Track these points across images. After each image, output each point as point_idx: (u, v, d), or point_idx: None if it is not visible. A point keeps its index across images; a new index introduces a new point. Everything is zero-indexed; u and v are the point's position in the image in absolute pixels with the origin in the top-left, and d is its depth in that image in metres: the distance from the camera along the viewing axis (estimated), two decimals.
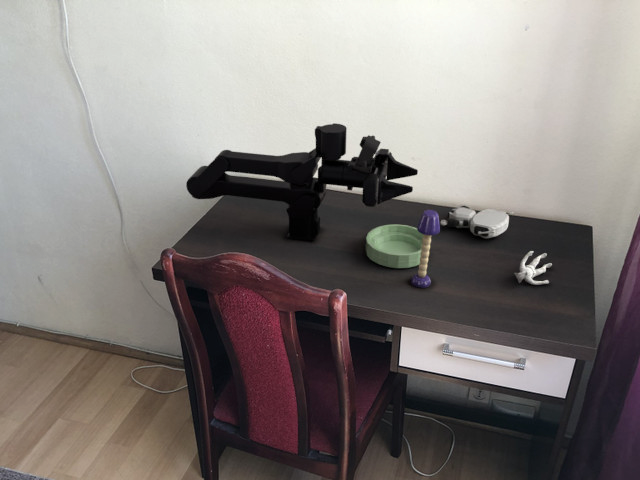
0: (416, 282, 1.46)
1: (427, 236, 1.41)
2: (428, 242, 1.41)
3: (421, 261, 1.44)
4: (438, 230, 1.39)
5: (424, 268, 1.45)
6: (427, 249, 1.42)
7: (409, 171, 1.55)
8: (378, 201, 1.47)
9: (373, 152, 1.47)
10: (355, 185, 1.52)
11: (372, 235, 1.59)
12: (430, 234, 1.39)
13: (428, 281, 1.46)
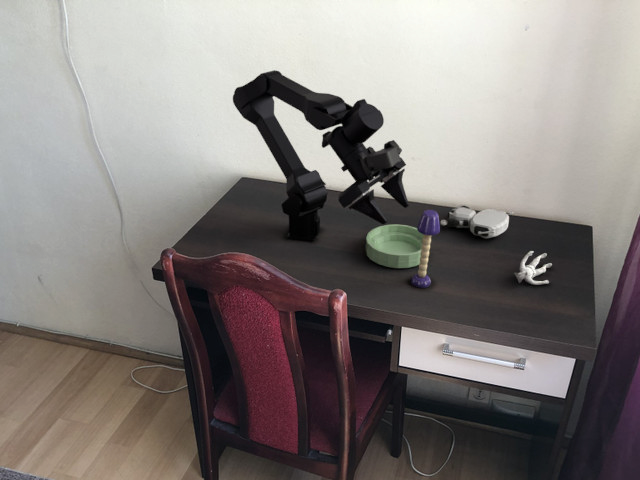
0: (416, 282, 1.46)
1: (427, 236, 1.41)
2: (428, 242, 1.41)
3: (421, 261, 1.44)
4: (438, 230, 1.39)
5: (424, 268, 1.45)
6: (427, 249, 1.42)
7: (402, 200, 1.46)
8: (350, 207, 1.39)
9: (385, 166, 1.37)
10: (349, 171, 1.42)
11: (372, 235, 1.59)
12: (430, 234, 1.39)
13: (428, 281, 1.46)
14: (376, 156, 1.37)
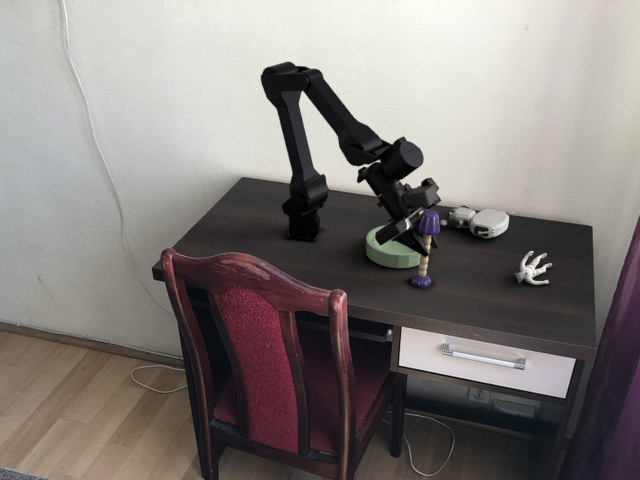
0: (416, 282, 1.46)
1: (427, 236, 1.40)
2: (428, 242, 1.41)
3: (421, 261, 1.44)
4: (438, 230, 1.39)
5: (424, 268, 1.45)
6: (427, 249, 1.42)
7: (431, 241, 1.44)
8: (393, 239, 1.40)
9: (423, 205, 1.35)
10: (385, 208, 1.41)
11: (372, 235, 1.59)
12: (430, 234, 1.39)
13: (428, 281, 1.46)
14: (414, 195, 1.36)
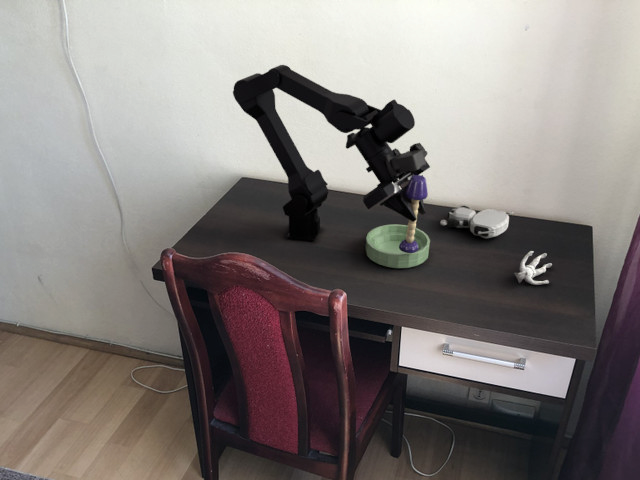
0: (404, 247, 1.48)
1: (415, 201, 1.42)
2: (416, 207, 1.43)
3: (409, 226, 1.46)
4: (426, 195, 1.41)
5: (412, 233, 1.47)
6: (415, 214, 1.44)
7: (419, 206, 1.46)
8: (381, 203, 1.42)
9: (411, 169, 1.37)
10: (374, 173, 1.43)
11: (372, 235, 1.59)
12: (418, 199, 1.40)
13: (416, 246, 1.48)
14: (402, 159, 1.37)
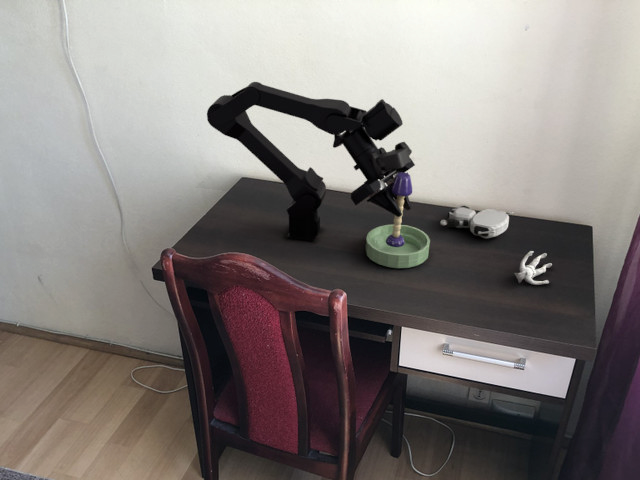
0: (390, 242, 1.55)
1: (400, 197, 1.49)
2: (401, 203, 1.50)
3: (395, 222, 1.53)
4: (410, 191, 1.48)
5: (398, 228, 1.53)
6: None
7: (404, 202, 1.52)
8: (368, 200, 1.48)
9: (396, 166, 1.44)
10: (361, 170, 1.50)
11: (372, 235, 1.59)
12: (403, 195, 1.47)
13: (402, 241, 1.55)
14: (387, 157, 1.44)
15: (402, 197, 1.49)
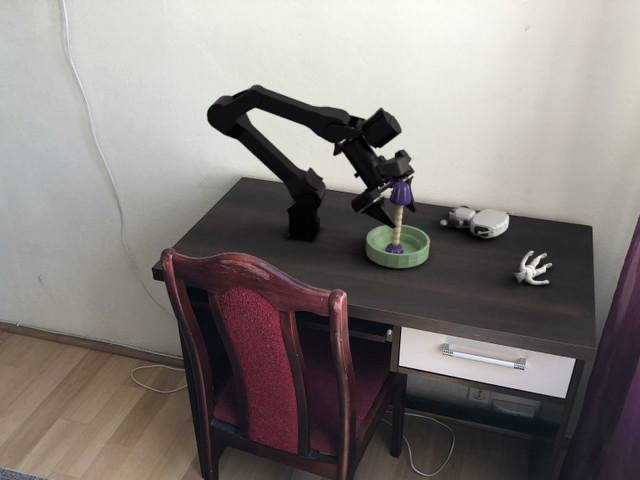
0: (390, 250, 1.56)
1: (399, 206, 1.50)
2: (400, 212, 1.51)
3: (394, 230, 1.54)
4: (409, 200, 1.49)
5: (397, 237, 1.55)
6: (399, 219, 1.52)
7: (410, 205, 1.55)
8: (362, 212, 1.47)
9: (395, 174, 1.45)
10: (361, 178, 1.51)
11: (372, 235, 1.59)
12: (401, 204, 1.48)
13: (401, 250, 1.56)
14: (387, 164, 1.45)
15: (401, 206, 1.50)
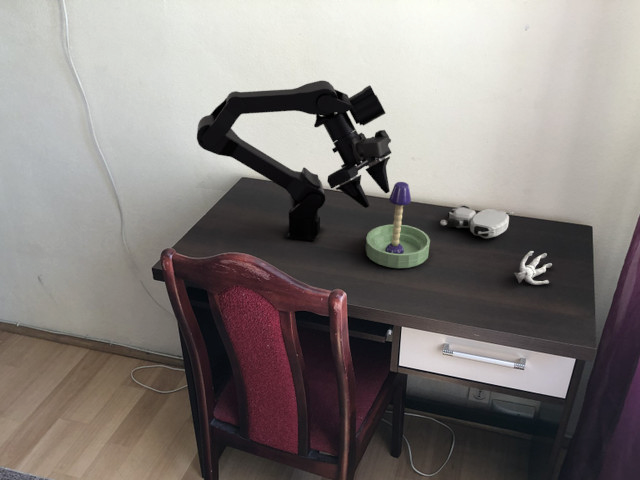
0: (390, 250, 1.56)
1: (399, 206, 1.50)
2: (400, 212, 1.51)
3: (394, 230, 1.54)
4: (409, 200, 1.49)
5: (397, 237, 1.55)
6: (399, 219, 1.52)
7: (384, 185, 1.57)
8: (337, 188, 1.49)
9: (374, 155, 1.46)
10: (340, 154, 1.51)
11: (372, 235, 1.59)
12: (401, 204, 1.48)
13: (401, 250, 1.56)
14: (367, 144, 1.46)
15: (401, 206, 1.50)
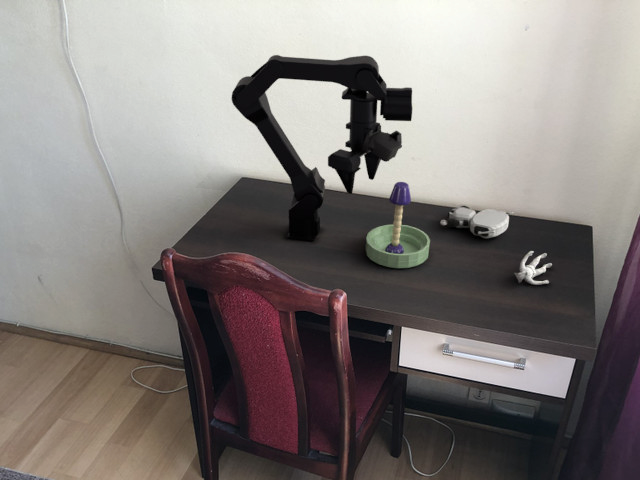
0: (390, 250, 1.56)
1: (399, 206, 1.50)
2: (400, 212, 1.51)
3: (394, 230, 1.54)
4: (409, 200, 1.49)
5: (397, 237, 1.55)
6: (399, 219, 1.52)
7: (371, 172, 1.59)
8: (333, 167, 1.49)
9: (381, 157, 1.47)
10: (350, 133, 1.49)
11: (372, 235, 1.59)
12: (401, 204, 1.48)
13: (401, 250, 1.56)
14: (381, 145, 1.46)
15: (401, 206, 1.50)
